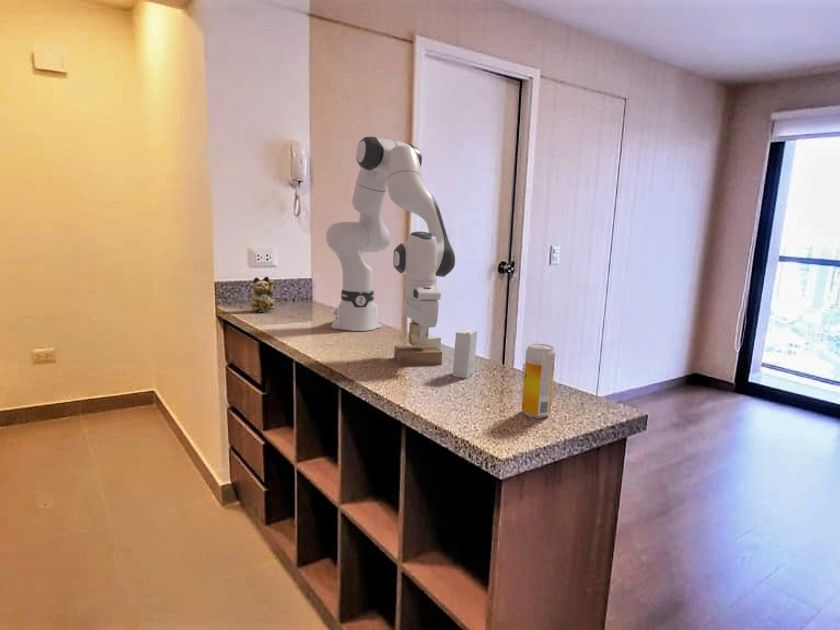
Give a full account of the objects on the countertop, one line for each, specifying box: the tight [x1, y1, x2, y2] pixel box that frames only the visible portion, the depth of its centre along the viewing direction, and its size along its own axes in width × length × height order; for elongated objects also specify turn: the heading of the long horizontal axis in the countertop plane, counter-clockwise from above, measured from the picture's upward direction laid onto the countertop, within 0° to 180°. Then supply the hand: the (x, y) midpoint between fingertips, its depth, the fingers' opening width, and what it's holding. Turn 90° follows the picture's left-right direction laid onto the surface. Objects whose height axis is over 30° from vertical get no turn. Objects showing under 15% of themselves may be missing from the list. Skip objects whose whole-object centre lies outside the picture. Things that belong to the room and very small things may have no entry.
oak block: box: [408, 321, 430, 346], centre depth 155 cm, size 4×4×6 cm
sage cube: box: [428, 334, 442, 351], centre depth 168 cm, size 5×5×5 cm
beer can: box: [521, 343, 556, 419], centre depth 115 cm, size 6×6×15 cm
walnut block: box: [393, 345, 443, 367], centre depth 156 cm, size 9×12×4 cm
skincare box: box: [452, 328, 478, 379], centre depth 143 cm, size 6×4×12 cm
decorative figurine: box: [250, 276, 275, 313], centre depth 225 cm, size 10×8×15 cm
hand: (418, 336), depth 155 cm, fingers closed on oak block, 4 cm apart
